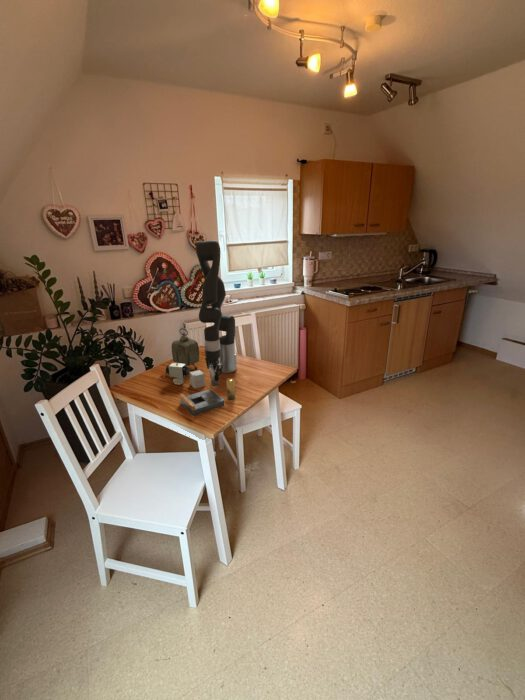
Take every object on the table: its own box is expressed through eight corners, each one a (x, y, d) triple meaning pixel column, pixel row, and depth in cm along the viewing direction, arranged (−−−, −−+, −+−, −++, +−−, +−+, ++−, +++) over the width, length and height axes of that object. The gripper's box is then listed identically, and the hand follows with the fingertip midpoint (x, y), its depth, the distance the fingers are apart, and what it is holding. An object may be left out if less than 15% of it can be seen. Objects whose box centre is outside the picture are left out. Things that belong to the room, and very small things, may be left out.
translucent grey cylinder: (216, 382, 167) (215, 364, 164) (220, 385, 164) (219, 367, 161) (209, 384, 165) (208, 366, 161) (213, 387, 162) (212, 369, 158)
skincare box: (200, 381, 176) (199, 369, 173) (205, 386, 171) (204, 373, 168) (190, 384, 173) (189, 372, 170) (194, 388, 168) (193, 376, 165)
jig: (210, 394, 162) (210, 385, 161) (224, 405, 152) (224, 396, 150) (180, 403, 154) (179, 394, 152) (193, 416, 143) (192, 406, 141)
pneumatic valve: (187, 386, 170) (185, 365, 166) (167, 384, 172) (164, 363, 168) (191, 381, 175) (189, 361, 171) (171, 380, 178) (169, 359, 173)
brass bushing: (232, 395, 161) (231, 377, 157) (236, 399, 158) (236, 380, 154) (225, 398, 159) (224, 379, 155) (229, 401, 156) (228, 382, 152)
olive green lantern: (200, 369, 192) (197, 328, 183) (189, 374, 185) (185, 332, 176) (184, 363, 199) (180, 324, 191) (172, 368, 193) (168, 328, 184)
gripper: (226, 350, 154) (228, 382, 160) (212, 342, 165) (214, 372, 171) (212, 354, 150) (215, 386, 156) (199, 345, 160) (201, 376, 167)
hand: (214, 379), depth 164 cm, fingers closed on translucent grey cylinder, 4 cm apart
